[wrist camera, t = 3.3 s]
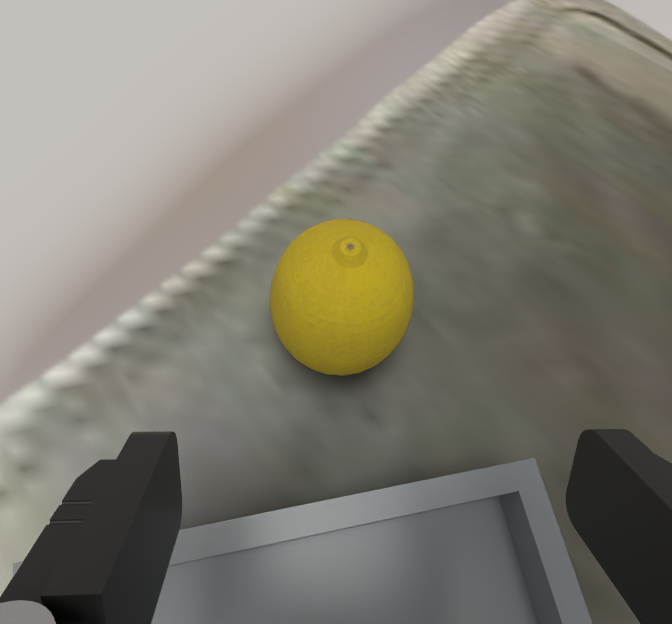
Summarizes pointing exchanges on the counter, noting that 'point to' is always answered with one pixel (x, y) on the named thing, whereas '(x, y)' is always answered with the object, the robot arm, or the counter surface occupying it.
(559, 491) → the counter surface
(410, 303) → the lemon
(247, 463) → the counter surface
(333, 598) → the tray
